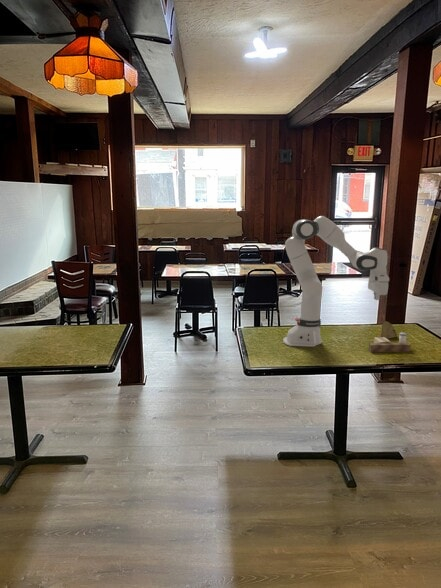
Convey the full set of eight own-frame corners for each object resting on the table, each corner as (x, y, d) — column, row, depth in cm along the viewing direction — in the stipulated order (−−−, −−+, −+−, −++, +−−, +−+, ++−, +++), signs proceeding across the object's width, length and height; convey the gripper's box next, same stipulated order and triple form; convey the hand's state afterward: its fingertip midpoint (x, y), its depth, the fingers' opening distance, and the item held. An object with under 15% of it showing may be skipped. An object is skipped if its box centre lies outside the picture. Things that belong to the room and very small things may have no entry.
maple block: (379, 350, 240) (379, 341, 239) (373, 345, 247) (374, 337, 246) (389, 350, 240) (390, 341, 239) (383, 345, 248) (384, 337, 247)
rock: (396, 331, 267) (379, 328, 269) (400, 322, 260) (383, 319, 263) (396, 345, 260) (379, 342, 262) (400, 337, 254) (382, 333, 256)
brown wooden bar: (370, 352, 236) (371, 345, 235) (368, 350, 239) (369, 343, 238) (410, 351, 237) (410, 344, 236) (407, 349, 240) (408, 342, 239)
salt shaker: (400, 348, 243) (401, 334, 241) (397, 345, 246) (398, 332, 245) (406, 347, 243) (408, 334, 241) (403, 345, 247) (404, 332, 245)
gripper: (366, 273, 257) (364, 296, 260) (379, 279, 237) (377, 303, 240) (376, 273, 258) (375, 295, 260) (390, 278, 238) (389, 303, 240)
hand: (376, 299), depth 250 cm, fingers closed
